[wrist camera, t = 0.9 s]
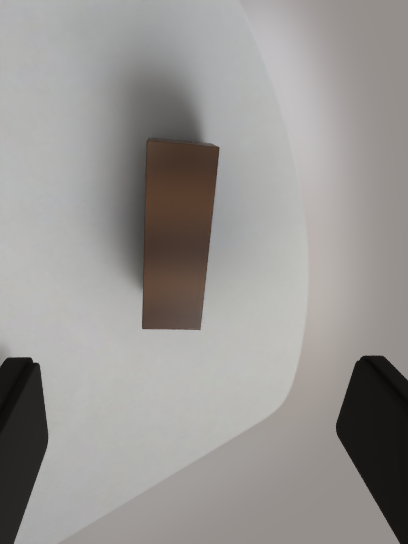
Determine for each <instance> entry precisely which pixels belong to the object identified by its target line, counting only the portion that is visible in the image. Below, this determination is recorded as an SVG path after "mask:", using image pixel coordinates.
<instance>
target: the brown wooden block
mask: <svg viewBox="0 0 408 544" xmlns="http://www.w3.org/2000/svg"><path fill="white" fill-rule="evenodd" d="M218 157H219V147H218V146H216V145H213V144H210V143H200V142H189V141H178V140H168V139H157V138H148V140H147V146H146V188H145V229H144V271H143V312H142V329H184V330H200V329H201V319H202V310H203V300H204V291H205V281H206V272H207V262H208V253H209V243H210V234H211V224H212V215H213V205H214V196H215V186H216V176H217V167H218Z"/></svg>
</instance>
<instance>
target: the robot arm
mask: <svg viewBox="0 0 408 544" xmlns="http://www.w3.org/2000/svg"><path fill="white" fill-rule="evenodd" d="M336 432H337V435H338V437H339V439H340V441H341V442H342V444H343V446H344V447H345V449H346V451H347V453H348V455H349V456H350V458H351V460H352V462H353V463H354V465H355V467H356V468H357V470H358V472H359V474H360V475H361V477H362V478H363V480H364V482H365V484H366V486H367V487H368V489H369V491H370V493H371V494H372V496H373V498H374V499H375V501H376V503H377V504H378V506H379V508H380V510H381V511H382V513H383V515H384V517H385V518H386V520H387V522H388V524H389V525H390V527H391V529H392V530H393V532H394V534H395V536H396V537H397V539H398V541H399V542H400V544H408V380H407V379H406V378H405V377H404V376H403V375H402V374H401V373H400V372H399V371H398V370H397V369H396V368H395V367H394V366H393V365H392V364H391V363H390V362H389V361H388V360H387V359H386V358H385V357H383V356H363V357H361V358H360V360H359V361H357V362H356V364H355V366H354V370H353V373H352V376H351V379H350V382H349V385H348V388H347V391H346V395H345V398H344V401H343V404H342V407H341V410H340V414H339V417H338V420H337V423H336ZM47 444H48V429H47V420H46V412H45V404H44V396H43V388H42V379H41V371H40V365H39V363H33V360H32V358H30V357H16V358H7V359H6V360H5V361H4V362H3V364H2V365H1V367H0V544H14V541H15V538H16V535H17V532H18V530H19V527H20V524H21V521H22V518H23V515H24V512H25V509H26V507H27V504H28V501H29V498H30V495H31V492H32V489H33V486H34V483H35V481H36V478H37V475H38V472H39V469H40V466H41V463H42V460H43V458H44V455H45V452H46V449H47Z"/></svg>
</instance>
